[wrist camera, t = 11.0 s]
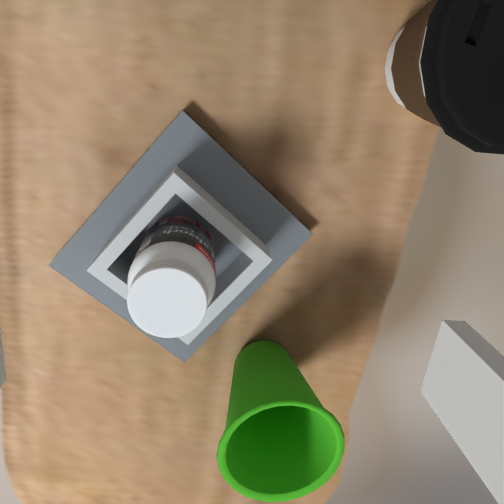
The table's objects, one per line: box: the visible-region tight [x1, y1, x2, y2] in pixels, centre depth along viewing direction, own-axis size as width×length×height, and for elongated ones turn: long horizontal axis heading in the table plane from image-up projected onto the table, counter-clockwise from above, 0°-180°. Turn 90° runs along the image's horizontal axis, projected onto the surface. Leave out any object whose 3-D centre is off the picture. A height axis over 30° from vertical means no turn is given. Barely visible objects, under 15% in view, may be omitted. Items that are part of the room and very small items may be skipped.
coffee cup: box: [385, 0, 504, 154], centre depth 27 cm, size 11×11×12 cm
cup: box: [217, 340, 344, 502], centre depth 34 cm, size 9×9×11 cm
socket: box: [49, 110, 313, 362], centre depth 33 cm, size 16×14×4 cm
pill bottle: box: [127, 216, 216, 338], centre depth 29 cm, size 6×6×10 cm
